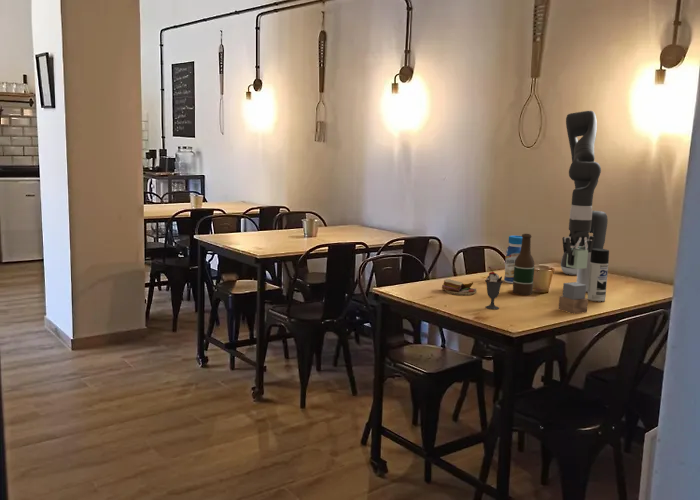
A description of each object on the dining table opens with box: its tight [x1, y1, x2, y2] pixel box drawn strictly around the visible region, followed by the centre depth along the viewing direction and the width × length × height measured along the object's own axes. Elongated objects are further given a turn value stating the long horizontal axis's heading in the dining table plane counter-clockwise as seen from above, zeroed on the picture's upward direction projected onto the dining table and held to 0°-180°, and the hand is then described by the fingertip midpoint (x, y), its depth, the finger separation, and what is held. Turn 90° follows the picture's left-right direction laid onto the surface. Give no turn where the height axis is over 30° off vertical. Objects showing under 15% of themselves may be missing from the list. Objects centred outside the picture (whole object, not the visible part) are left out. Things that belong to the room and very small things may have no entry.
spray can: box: [586, 248, 610, 303], centre depth 263 cm, size 7×7×20 cm
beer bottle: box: [512, 233, 535, 296], centre depth 271 cm, size 8×8×24 cm
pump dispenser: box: [560, 245, 579, 276], centre depth 315 cm, size 10×10×15 cm
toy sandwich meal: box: [441, 278, 477, 296], centre depth 271 cm, size 12×14×5 cm
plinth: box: [558, 295, 589, 315], centre depth 246 cm, size 7×7×5 cm
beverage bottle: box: [503, 235, 522, 284], centre depth 292 cm, size 8×8×20 cm
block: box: [566, 248, 588, 269], centre depth 243 cm, size 5×5×6 cm
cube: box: [561, 281, 587, 300], centre depth 245 cm, size 6×6×5 cm
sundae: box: [484, 266, 504, 310], centre depth 245 cm, size 7×7×15 cm
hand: (576, 264), depth 244 cm, fingers closed on block, 5 cm apart
